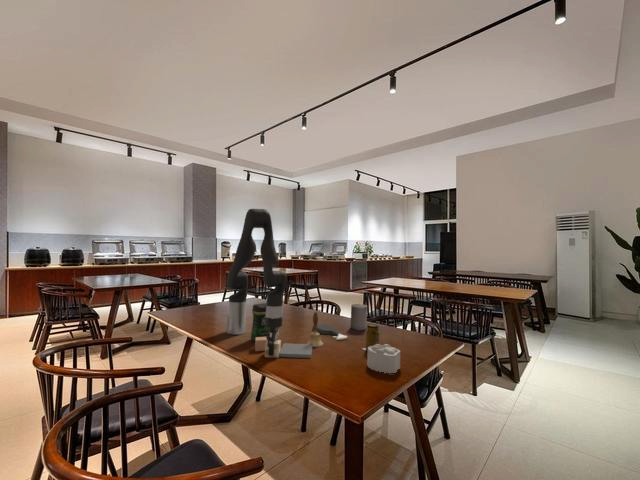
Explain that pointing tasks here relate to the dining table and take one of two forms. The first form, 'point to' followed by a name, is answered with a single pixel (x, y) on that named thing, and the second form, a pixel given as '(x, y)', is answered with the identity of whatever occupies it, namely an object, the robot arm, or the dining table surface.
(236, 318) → the robot arm
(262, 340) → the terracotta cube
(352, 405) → the dining table surface
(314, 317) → the hand bell
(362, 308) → the pillar candle
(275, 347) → the birch cube
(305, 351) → the slate tile
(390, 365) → the lumpy-topped squat cylinder
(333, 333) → the spray bottle
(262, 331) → the coffee jar
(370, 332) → the condiment
